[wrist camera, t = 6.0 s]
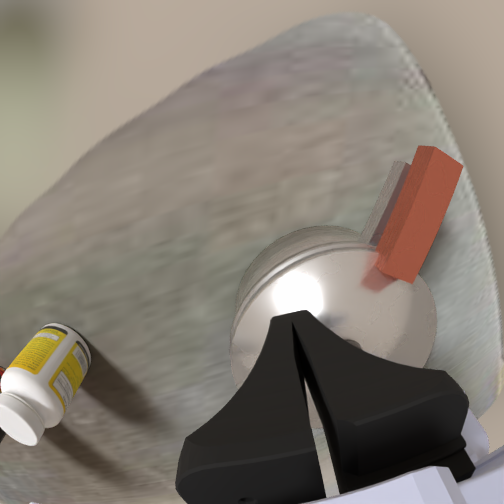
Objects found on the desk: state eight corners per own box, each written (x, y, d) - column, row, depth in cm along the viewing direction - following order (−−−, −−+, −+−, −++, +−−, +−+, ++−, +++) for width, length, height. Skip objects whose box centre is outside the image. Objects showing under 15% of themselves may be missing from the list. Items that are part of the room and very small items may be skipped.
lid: (367, 428, 21) (374, 445, 19) (204, 398, 19) (202, 418, 17) (498, 202, 15) (517, 208, 14) (327, 98, 14) (338, 92, 12)
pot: (334, 405, 26) (348, 446, 21) (197, 369, 24) (190, 414, 20) (452, 205, 21) (493, 221, 16) (305, 122, 19) (325, 115, 14)
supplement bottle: (32, 343, 23) (-23, 412, 14) (54, 309, 22) (-11, 382, 13) (76, 382, 25) (34, 460, 15) (103, 353, 24) (57, 439, 14)
